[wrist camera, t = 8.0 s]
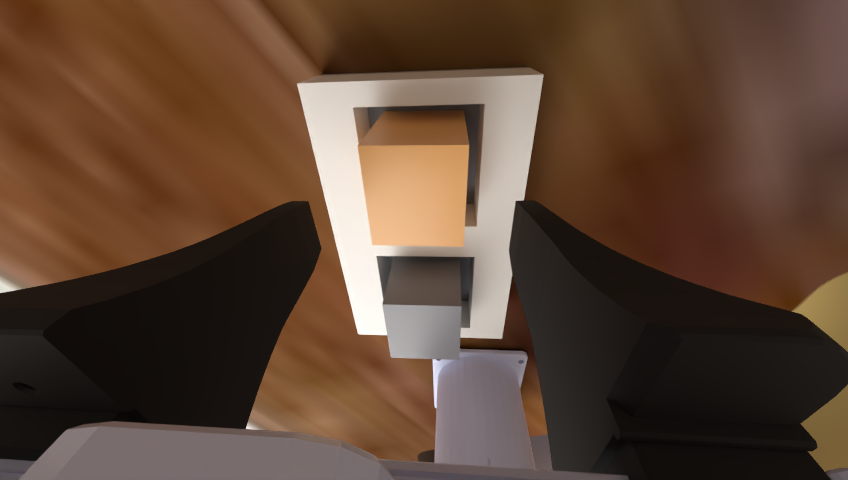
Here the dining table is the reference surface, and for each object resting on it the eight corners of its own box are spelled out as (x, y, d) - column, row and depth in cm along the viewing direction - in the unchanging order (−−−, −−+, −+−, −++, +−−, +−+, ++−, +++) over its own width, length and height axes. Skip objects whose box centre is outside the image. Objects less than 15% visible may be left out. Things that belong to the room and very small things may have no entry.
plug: (460, 191, 18) (463, 246, 13) (391, 190, 18) (372, 245, 14) (463, 110, 15) (469, 145, 11) (384, 111, 16) (357, 145, 11)
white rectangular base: (496, 306, 24) (508, 380, 19) (367, 303, 24) (346, 373, 19) (527, 66, 15) (567, 87, 10) (321, 74, 15) (260, 96, 10)
